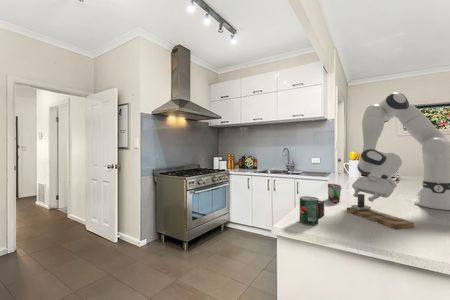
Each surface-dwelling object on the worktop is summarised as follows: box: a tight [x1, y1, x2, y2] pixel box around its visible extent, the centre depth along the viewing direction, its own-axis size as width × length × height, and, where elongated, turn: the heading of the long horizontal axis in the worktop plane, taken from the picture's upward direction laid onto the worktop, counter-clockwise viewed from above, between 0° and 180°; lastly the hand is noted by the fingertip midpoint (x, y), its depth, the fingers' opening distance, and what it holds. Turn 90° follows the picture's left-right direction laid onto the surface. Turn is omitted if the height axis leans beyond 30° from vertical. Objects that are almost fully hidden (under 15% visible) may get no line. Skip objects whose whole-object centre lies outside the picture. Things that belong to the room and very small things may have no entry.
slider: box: [350, 193, 372, 210], centre depth 113 cm, size 5×7×7 cm
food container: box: [327, 183, 343, 204], centre depth 137 cm, size 12×6×10 cm, turn 171°
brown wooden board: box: [346, 206, 415, 230], centre depth 104 cm, size 26×10×2 cm, turn 13°
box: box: [318, 199, 325, 219], centre depth 108 cm, size 6×6×7 cm
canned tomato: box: [299, 195, 320, 227], centre depth 99 cm, size 8×8×11 cm
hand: (362, 198), depth 114 cm, fingers open, 8 cm apart
